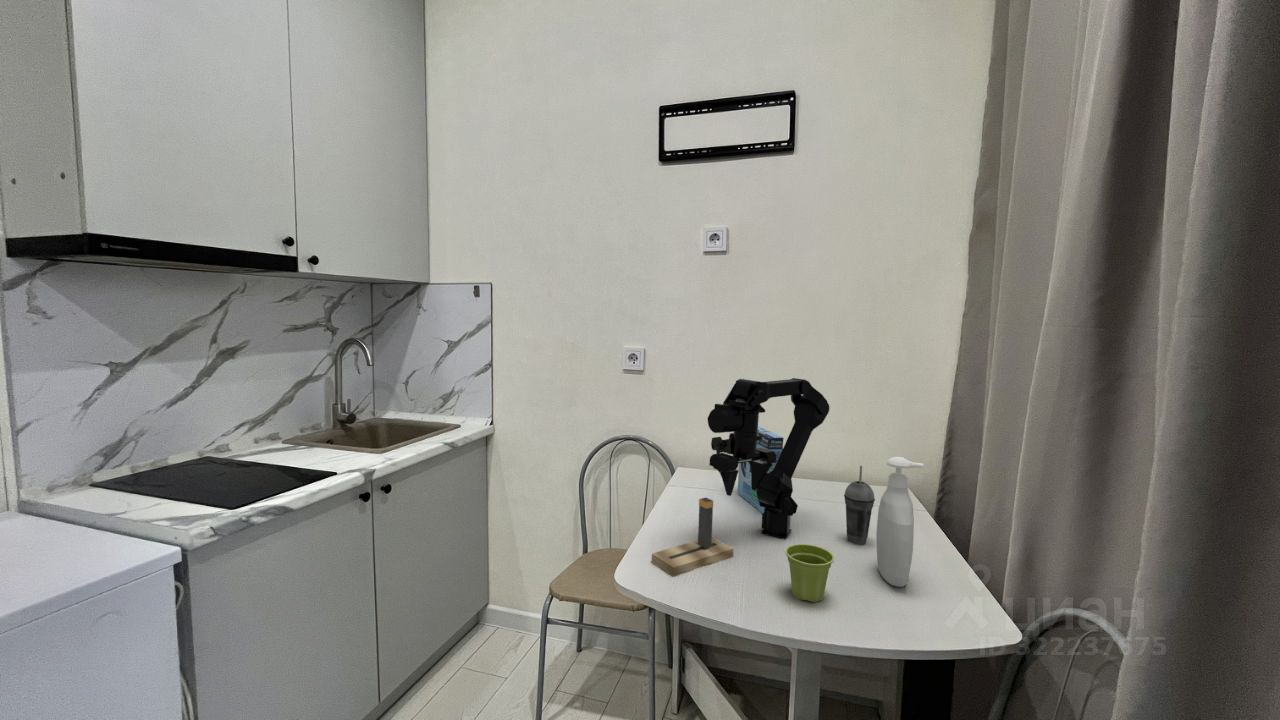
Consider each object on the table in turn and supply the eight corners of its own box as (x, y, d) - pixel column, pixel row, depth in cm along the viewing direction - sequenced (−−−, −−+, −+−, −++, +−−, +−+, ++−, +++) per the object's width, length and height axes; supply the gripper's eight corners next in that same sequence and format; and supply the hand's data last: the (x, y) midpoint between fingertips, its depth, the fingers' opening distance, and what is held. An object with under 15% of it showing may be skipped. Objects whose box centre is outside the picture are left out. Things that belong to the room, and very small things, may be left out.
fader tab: (704, 542, 124) (705, 497, 123) (711, 546, 122) (713, 500, 121) (697, 544, 123) (699, 499, 122) (705, 548, 121) (706, 502, 120)
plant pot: (807, 611, 100) (810, 568, 99) (773, 588, 108) (775, 548, 107) (842, 600, 104) (844, 558, 103) (807, 579, 112) (809, 540, 112)
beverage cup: (872, 538, 135) (877, 463, 133) (872, 549, 128) (876, 470, 127) (842, 533, 138) (846, 459, 136) (840, 543, 131) (844, 466, 130)
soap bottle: (927, 597, 106) (935, 467, 104) (884, 592, 108) (892, 464, 106) (905, 564, 120) (912, 450, 118) (867, 560, 122) (874, 448, 120)
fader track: (710, 544, 129) (710, 536, 129) (733, 556, 122) (733, 547, 122) (651, 562, 119) (651, 553, 118) (673, 576, 112) (673, 567, 112)
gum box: (737, 493, 168) (740, 423, 166) (751, 492, 169) (754, 423, 167) (764, 515, 149) (767, 437, 147) (780, 514, 150) (784, 437, 148)
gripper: (745, 422, 140) (741, 479, 141) (695, 427, 129) (691, 489, 129) (779, 430, 131) (775, 490, 132) (729, 435, 120) (724, 502, 121)
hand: (741, 492), depth 129 cm, fingers open, 9 cm apart
